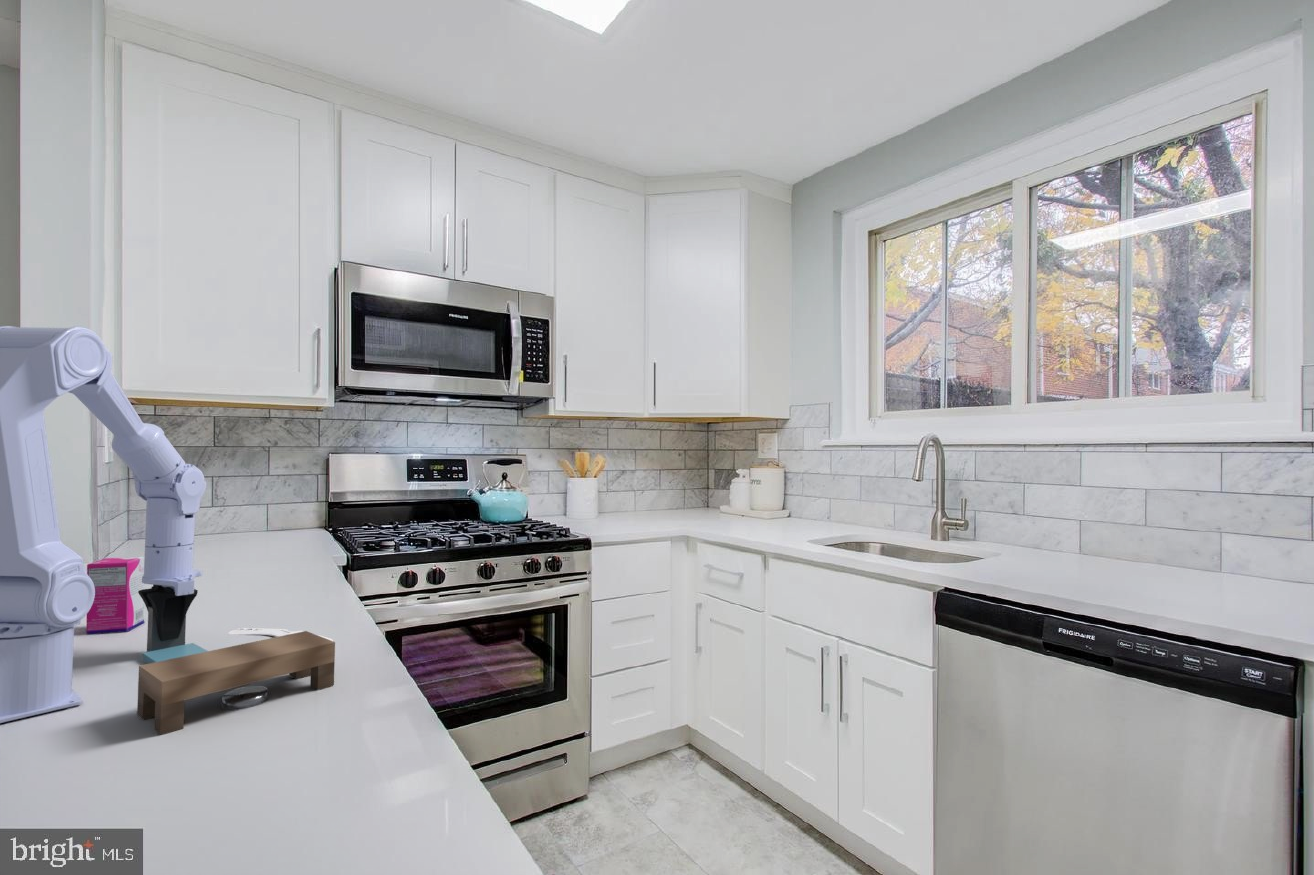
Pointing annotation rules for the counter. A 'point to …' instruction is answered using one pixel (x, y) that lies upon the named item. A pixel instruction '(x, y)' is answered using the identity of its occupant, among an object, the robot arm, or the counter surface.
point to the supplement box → (116, 595)
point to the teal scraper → (166, 643)
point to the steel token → (244, 697)
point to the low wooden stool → (229, 673)
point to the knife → (266, 632)
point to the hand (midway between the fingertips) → (166, 637)
